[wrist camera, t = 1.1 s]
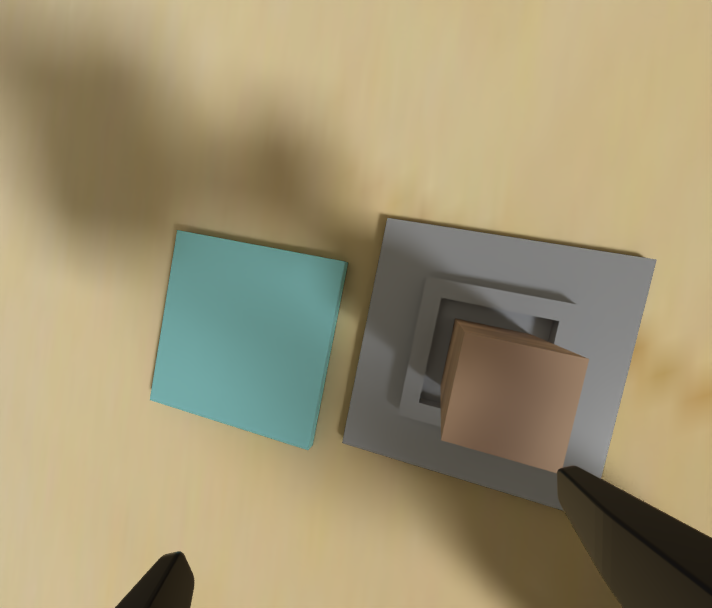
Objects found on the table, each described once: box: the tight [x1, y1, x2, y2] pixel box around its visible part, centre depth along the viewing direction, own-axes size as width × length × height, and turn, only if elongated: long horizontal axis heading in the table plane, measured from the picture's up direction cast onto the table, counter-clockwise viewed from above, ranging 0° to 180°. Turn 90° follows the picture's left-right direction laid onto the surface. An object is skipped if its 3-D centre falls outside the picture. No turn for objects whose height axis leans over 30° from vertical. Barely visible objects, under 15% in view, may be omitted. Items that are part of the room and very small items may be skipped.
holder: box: [342, 218, 656, 511], centre depth 20 cm, size 14×14×2 cm
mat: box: [150, 230, 348, 450], centre depth 24 cm, size 12×12×1 cm
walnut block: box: [440, 318, 589, 473], centre depth 16 cm, size 4×4×8 cm
